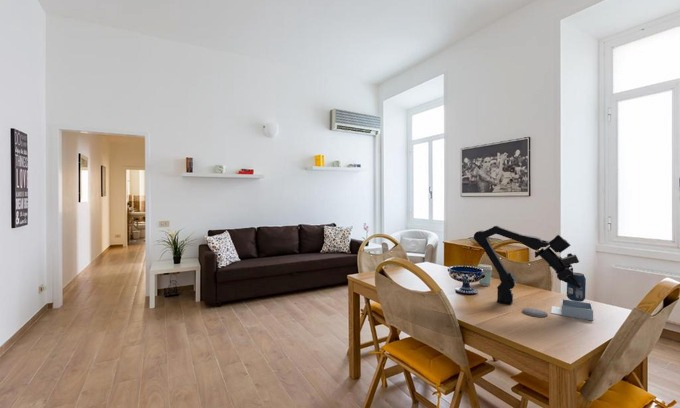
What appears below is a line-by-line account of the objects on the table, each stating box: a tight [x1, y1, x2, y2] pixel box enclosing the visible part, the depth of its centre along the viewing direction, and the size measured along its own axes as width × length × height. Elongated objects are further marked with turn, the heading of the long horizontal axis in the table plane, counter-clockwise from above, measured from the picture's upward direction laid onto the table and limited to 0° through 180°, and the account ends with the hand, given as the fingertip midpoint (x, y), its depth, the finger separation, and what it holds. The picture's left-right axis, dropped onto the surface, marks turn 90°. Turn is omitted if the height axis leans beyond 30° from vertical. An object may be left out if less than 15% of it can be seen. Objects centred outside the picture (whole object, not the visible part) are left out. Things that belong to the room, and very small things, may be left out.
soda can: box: [566, 271, 587, 302], centre depth 151 cm, size 7×7×12 cm
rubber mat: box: [522, 307, 548, 318], centre depth 152 cm, size 10×10×1 cm
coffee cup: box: [477, 263, 493, 287], centre depth 201 cm, size 8×8×12 cm
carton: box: [551, 298, 594, 321], centre depth 154 cm, size 15×15×4 cm
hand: (579, 285), depth 150 cm, fingers closed on soda can, 7 cm apart
